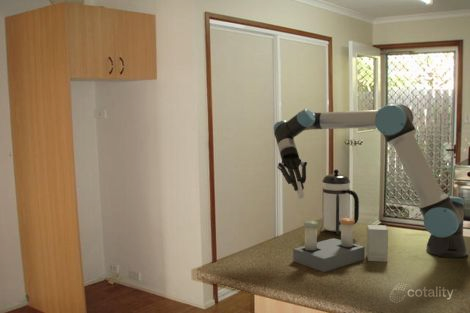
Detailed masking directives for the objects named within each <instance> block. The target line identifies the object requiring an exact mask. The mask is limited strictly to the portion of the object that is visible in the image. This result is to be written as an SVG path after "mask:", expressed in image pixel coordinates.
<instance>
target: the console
mask: <svg viewBox="0 0 470 313" xmlns="http://www.w3.org/2000/svg"><path fill="white" fill-rule="evenodd" d="M365 250H366V248H365V246H363V245H359V244H356V243H353V246H351V247H344V246H341V239H337V238H334V237H333V238H329V239H325V240H321V241H317V249H316V250H306V249H305V245H301V246H299V247H296V248H293V251H292V252H293V253H292V254H293V256H292V258H293V260H292V261H293V262H294V263H297V264H300V265H304V266H306V267H308V268H311V269H314V270H316V271H320V272H322V273H326V272H328V271H329V272H330V271H332V270H336V269H338V268H341V267H344V266H347V265H351V264H354V263H357V262H361V261H363V260H365V252H366V251H365Z"/></svg>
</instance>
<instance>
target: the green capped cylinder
mask: <svg viewBox="0 0 470 313" xmlns="http://www.w3.org/2000/svg"><path fill="white" fill-rule="evenodd" d="M302 224H303V227H304V246H305V249H306V250H316V249H317V242H318V241H317V240H318V227H319V222H318V221H315V220H305V221H303V222H302Z"/></svg>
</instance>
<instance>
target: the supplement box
mask: <svg viewBox="0 0 470 313" xmlns="http://www.w3.org/2000/svg"><path fill="white" fill-rule="evenodd" d="M366 226H367V228H366V229H367V230H366V231H367V232H366V257H367V261H369V262H370V261H371V262H386V263H387V262H388V258H389V257H388V249H389V247H388V246H389V245H388V244H389V243H388V242H389V229H388V227H387V225H382V224H379V225H378V224H367V225H366Z"/></svg>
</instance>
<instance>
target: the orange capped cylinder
mask: <svg viewBox="0 0 470 313" xmlns="http://www.w3.org/2000/svg"><path fill="white" fill-rule="evenodd" d="M340 223H341V231H340V240H341V246H344V247H351V246H353V244H354V225H355V224H354V223H355V220H354V218H350V217H349V218H341V219H340Z"/></svg>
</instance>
